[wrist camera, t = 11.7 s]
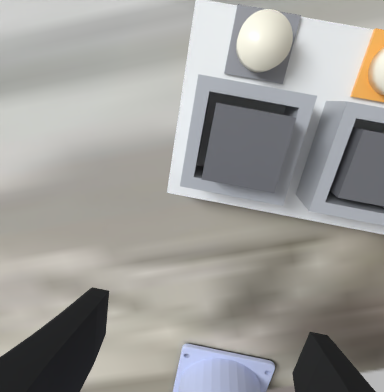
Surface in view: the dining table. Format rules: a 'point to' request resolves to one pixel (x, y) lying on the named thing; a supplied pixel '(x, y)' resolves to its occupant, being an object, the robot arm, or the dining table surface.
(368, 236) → the dining table surface
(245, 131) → the block
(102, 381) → the dining table surface
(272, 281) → the dining table surface
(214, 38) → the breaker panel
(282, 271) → the dining table surface
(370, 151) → the dark grey square block
